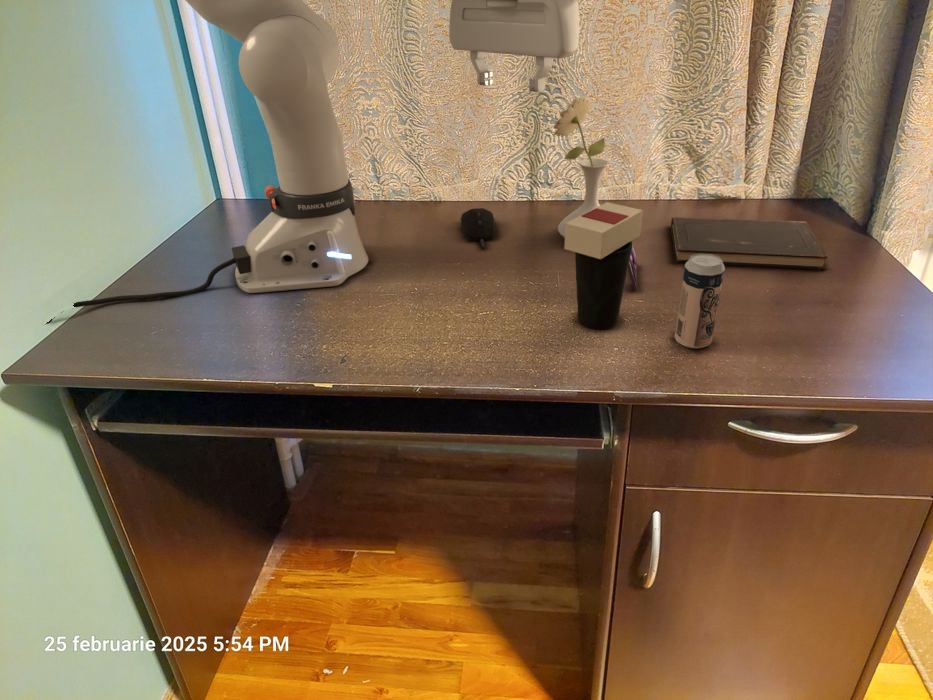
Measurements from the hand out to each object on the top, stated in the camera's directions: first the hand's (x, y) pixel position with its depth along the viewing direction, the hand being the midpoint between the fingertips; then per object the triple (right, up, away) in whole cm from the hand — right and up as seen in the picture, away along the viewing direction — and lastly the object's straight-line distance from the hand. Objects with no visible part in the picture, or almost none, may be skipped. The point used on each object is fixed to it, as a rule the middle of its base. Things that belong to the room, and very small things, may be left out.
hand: (510, 88), depth 94 cm
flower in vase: (+15, -17, +27) cm, 36 cm away
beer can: (+24, -36, -5) cm, 44 cm away
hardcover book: (+42, -19, +21) cm, 51 cm away
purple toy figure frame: (+19, -26, +13) cm, 34 cm away
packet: (+12, -23, -5) cm, 26 cm away
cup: (+13, -33, +1) cm, 35 cm away
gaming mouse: (-4, -15, +31) cm, 35 cm away
